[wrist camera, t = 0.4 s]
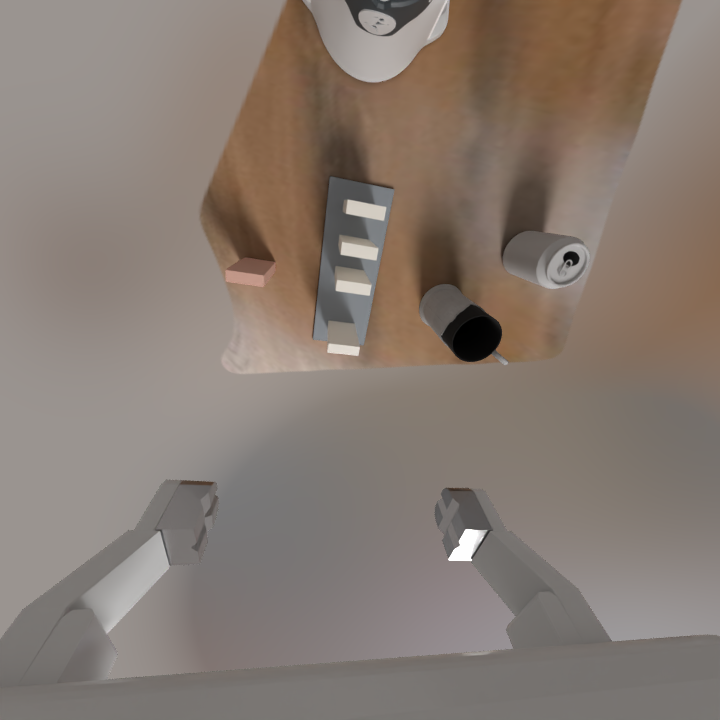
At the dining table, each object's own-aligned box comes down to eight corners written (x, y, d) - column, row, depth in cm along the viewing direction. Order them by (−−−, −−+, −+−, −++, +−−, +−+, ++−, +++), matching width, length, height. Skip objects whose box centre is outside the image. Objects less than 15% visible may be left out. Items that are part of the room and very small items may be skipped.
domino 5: (328, 320, 53) (328, 343, 45) (354, 323, 54) (359, 346, 46) (327, 328, 54) (327, 352, 45) (353, 331, 55) (358, 355, 46)
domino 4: (335, 265, 49) (337, 279, 40) (364, 270, 50) (371, 285, 41) (334, 275, 50) (335, 290, 41) (362, 279, 50) (369, 295, 42)
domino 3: (339, 234, 46) (342, 242, 38) (369, 239, 47) (378, 248, 39) (338, 244, 47) (340, 254, 38) (367, 249, 48) (376, 260, 39)
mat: (329, 176, 43) (329, 176, 42) (393, 189, 44) (394, 189, 44) (313, 338, 55) (313, 339, 55) (363, 344, 57) (363, 345, 57)
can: (549, 242, 51) (607, 252, 40) (522, 280, 54) (568, 299, 43) (518, 222, 49) (570, 227, 38) (491, 263, 52) (533, 279, 41)
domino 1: (244, 257, 47) (225, 269, 38) (275, 262, 48) (263, 275, 39) (244, 267, 48) (226, 281, 39) (275, 271, 49) (263, 286, 40)
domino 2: (343, 199, 44) (347, 199, 35) (375, 206, 45) (386, 207, 36) (342, 211, 45) (345, 213, 36) (373, 217, 46) (383, 220, 37)
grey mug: (442, 274, 52) (480, 298, 39) (490, 317, 57) (538, 352, 44) (409, 311, 55) (435, 346, 42) (458, 349, 60) (495, 390, 47)
